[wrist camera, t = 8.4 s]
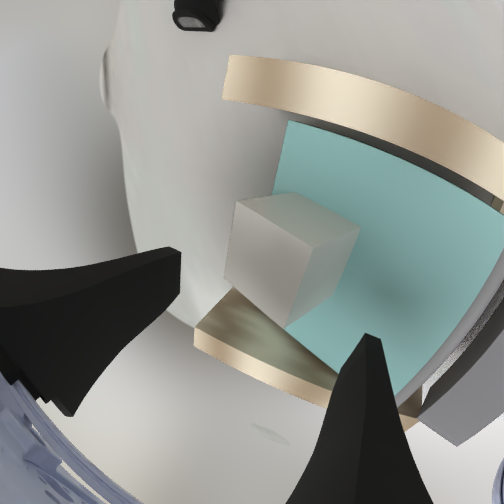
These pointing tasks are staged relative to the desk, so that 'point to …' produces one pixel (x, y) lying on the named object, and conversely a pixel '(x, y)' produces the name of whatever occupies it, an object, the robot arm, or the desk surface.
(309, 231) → the gray cube
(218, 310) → the rail stand
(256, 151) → the desk surface
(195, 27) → the electric trimmer
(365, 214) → the trapdoor
